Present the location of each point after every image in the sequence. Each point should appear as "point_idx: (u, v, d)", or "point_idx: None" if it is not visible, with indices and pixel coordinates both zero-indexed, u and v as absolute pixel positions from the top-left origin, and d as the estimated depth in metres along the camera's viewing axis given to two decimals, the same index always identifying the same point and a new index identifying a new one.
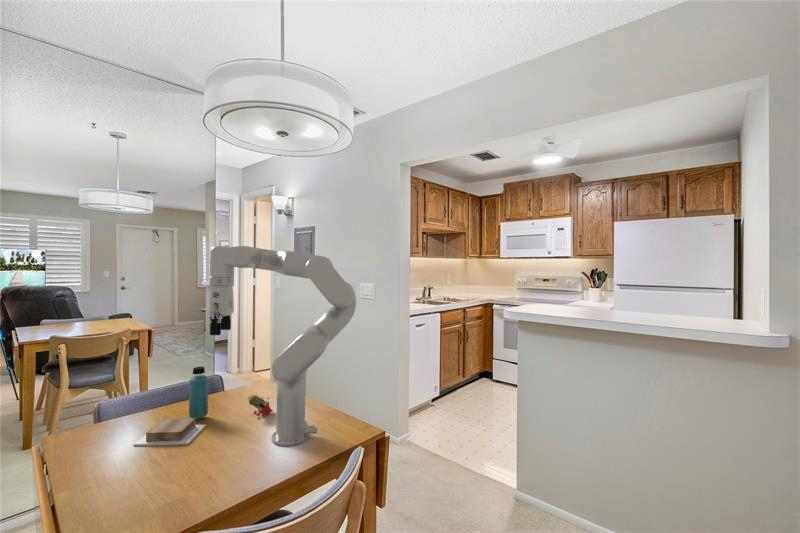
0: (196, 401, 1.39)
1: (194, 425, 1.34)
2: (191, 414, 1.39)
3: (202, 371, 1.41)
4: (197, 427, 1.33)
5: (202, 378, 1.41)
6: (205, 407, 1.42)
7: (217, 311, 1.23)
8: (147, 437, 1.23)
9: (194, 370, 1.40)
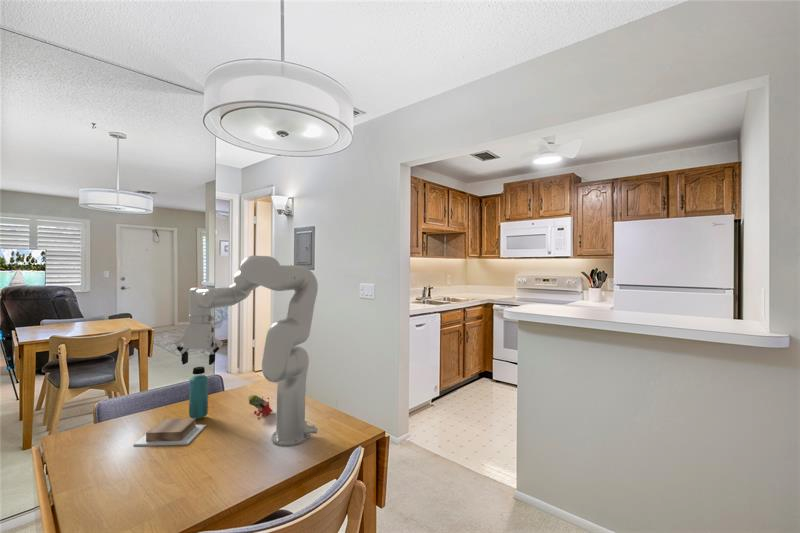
0: (196, 401, 1.39)
1: (194, 425, 1.34)
2: (191, 414, 1.39)
3: (202, 371, 1.41)
4: (197, 427, 1.33)
5: (202, 378, 1.41)
6: (205, 407, 1.42)
7: None
8: (147, 437, 1.23)
9: (194, 370, 1.40)
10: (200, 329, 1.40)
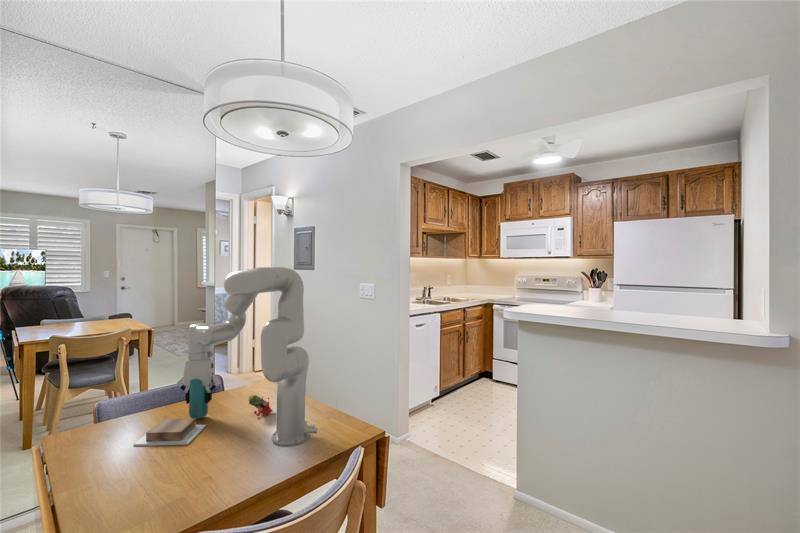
0: (196, 401, 1.39)
1: (194, 425, 1.34)
2: (191, 414, 1.39)
3: None
4: (197, 427, 1.33)
5: None
6: (205, 407, 1.42)
7: None
8: (147, 437, 1.23)
9: None
10: (199, 366, 1.40)
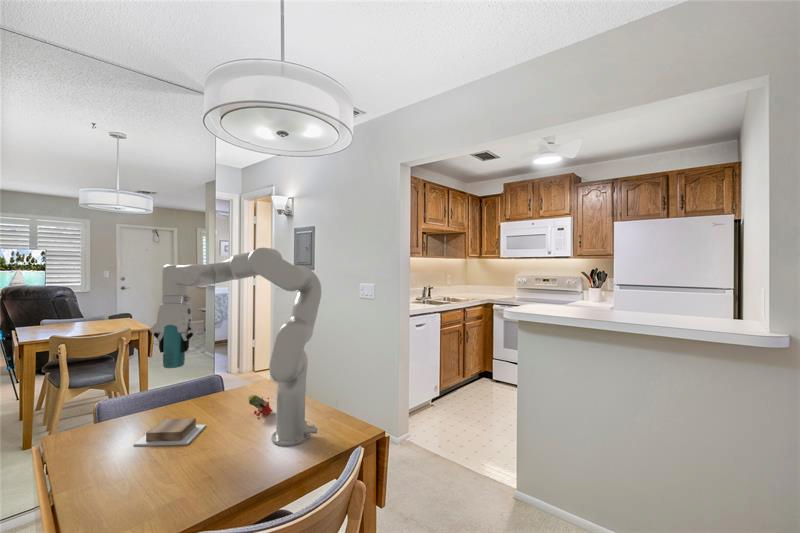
0: (170, 349, 1.26)
1: (194, 425, 1.34)
2: (165, 363, 1.26)
3: None
4: (197, 427, 1.33)
5: None
6: (181, 356, 1.28)
7: None
8: (147, 437, 1.23)
9: None
10: (174, 311, 1.26)
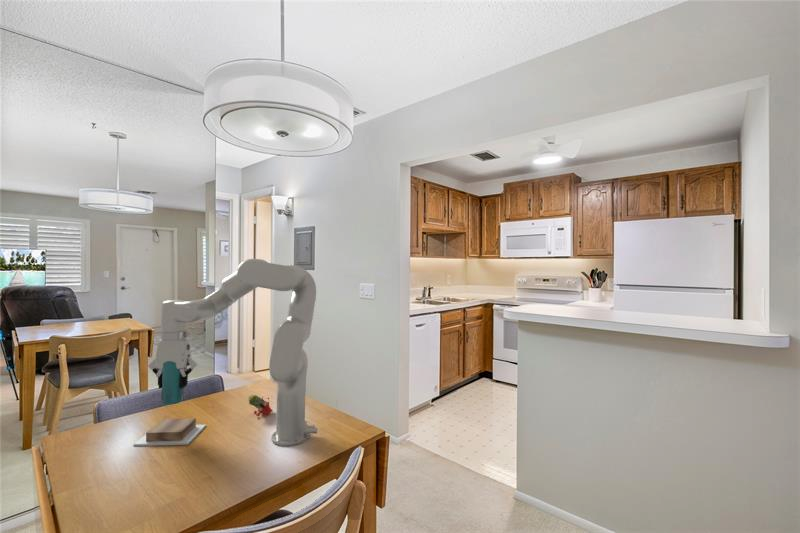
0: (169, 385, 1.26)
1: (194, 425, 1.34)
2: (164, 400, 1.26)
3: None
4: (197, 427, 1.33)
5: None
6: (180, 392, 1.28)
7: None
8: (147, 437, 1.23)
9: None
10: (173, 347, 1.26)
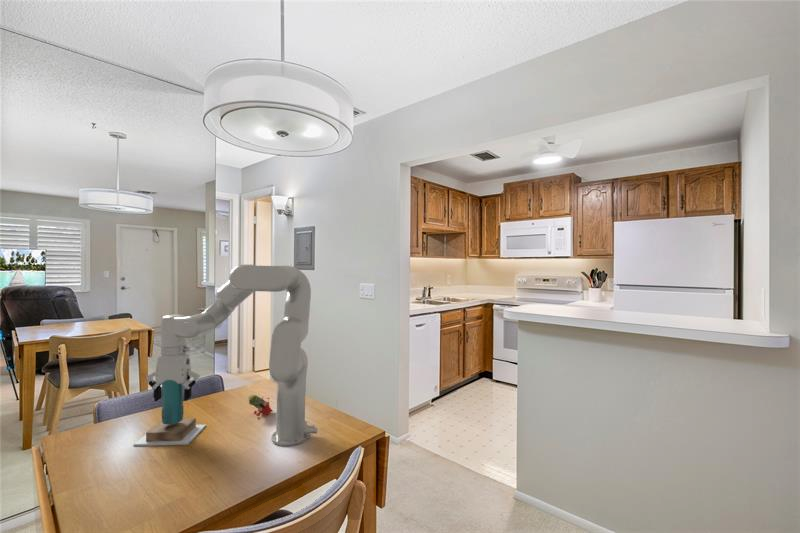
0: (169, 405, 1.25)
1: (194, 425, 1.34)
2: (164, 420, 1.26)
3: None
4: (197, 427, 1.33)
5: None
6: (180, 412, 1.28)
7: None
8: (147, 437, 1.23)
9: None
10: (173, 362, 1.26)
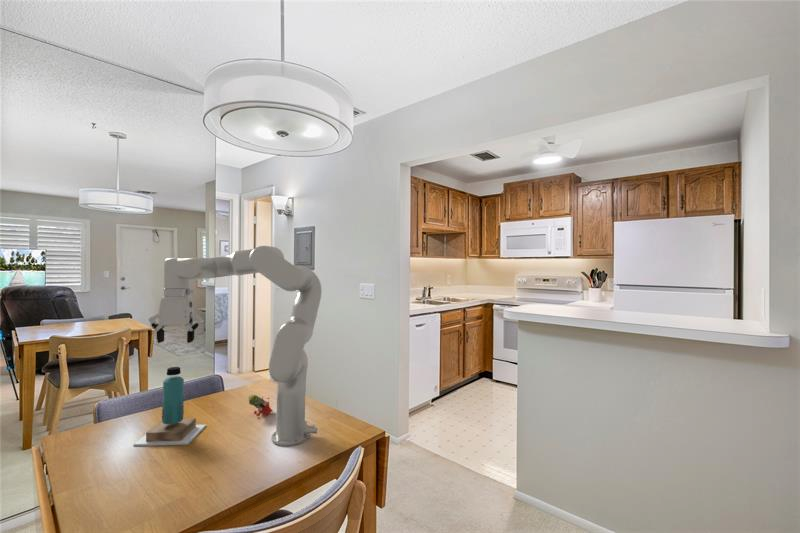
0: (170, 405, 1.26)
1: (194, 425, 1.34)
2: (164, 419, 1.26)
3: (177, 372, 1.28)
4: (197, 427, 1.33)
5: (177, 379, 1.27)
6: (180, 412, 1.28)
7: None
8: (147, 437, 1.23)
9: (168, 371, 1.27)
10: (176, 304, 1.27)
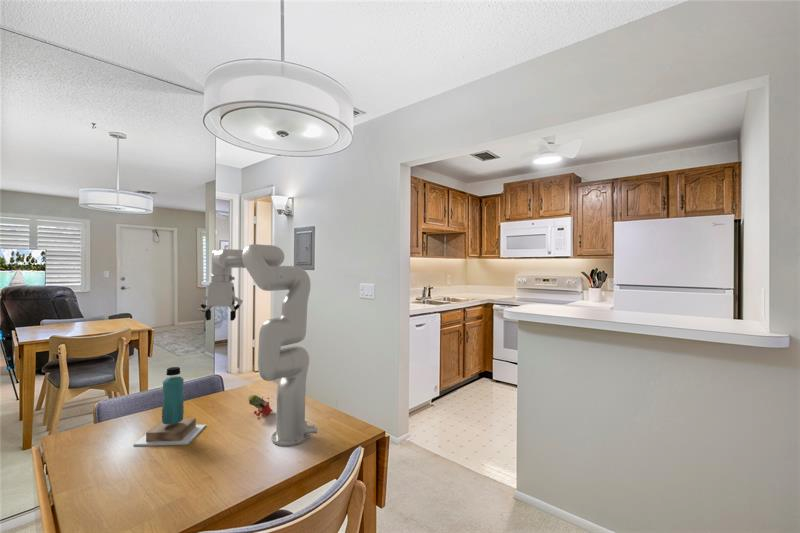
0: (170, 405, 1.26)
1: (194, 425, 1.34)
2: (164, 420, 1.26)
3: (177, 372, 1.28)
4: (197, 427, 1.33)
5: (177, 380, 1.27)
6: (180, 412, 1.28)
7: None
8: (147, 437, 1.23)
9: (168, 371, 1.27)
10: (222, 288, 1.53)
